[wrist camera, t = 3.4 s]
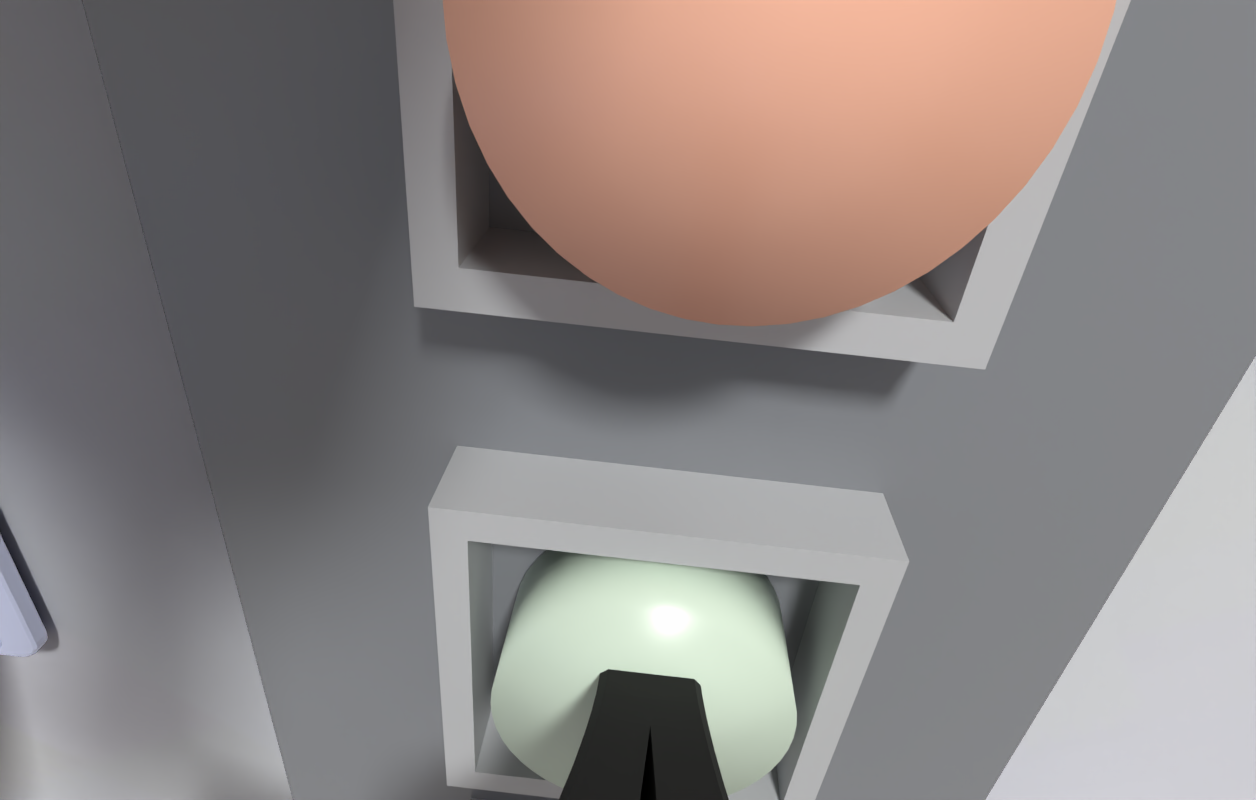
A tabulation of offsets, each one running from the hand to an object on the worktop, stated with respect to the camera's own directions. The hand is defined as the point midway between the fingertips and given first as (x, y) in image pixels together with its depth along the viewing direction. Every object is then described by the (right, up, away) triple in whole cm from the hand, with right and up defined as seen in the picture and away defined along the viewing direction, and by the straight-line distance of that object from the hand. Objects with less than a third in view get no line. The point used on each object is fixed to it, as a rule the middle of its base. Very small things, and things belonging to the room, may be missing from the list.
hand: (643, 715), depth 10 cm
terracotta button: (+1, +8, -4) cm, 9 cm away
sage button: (0, +1, +1) cm, 2 cm away
